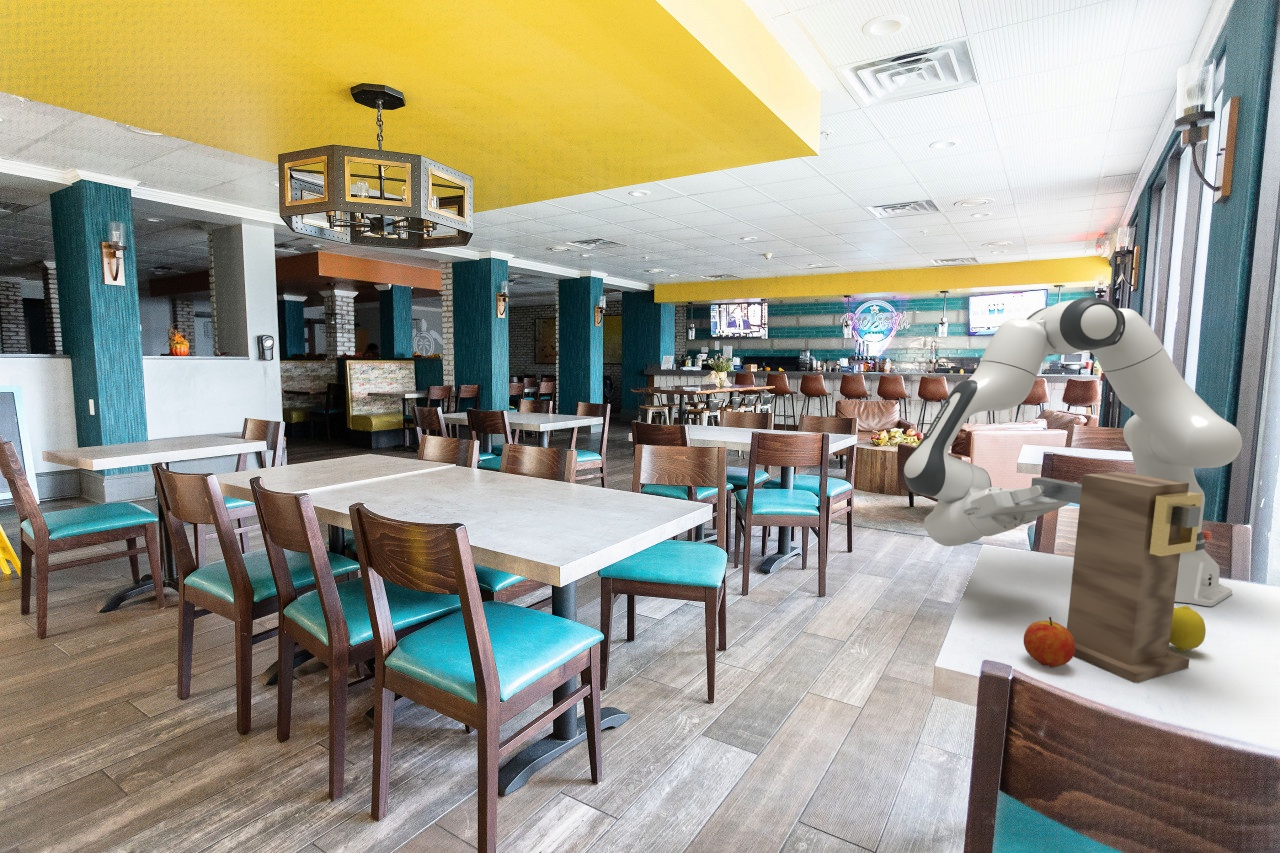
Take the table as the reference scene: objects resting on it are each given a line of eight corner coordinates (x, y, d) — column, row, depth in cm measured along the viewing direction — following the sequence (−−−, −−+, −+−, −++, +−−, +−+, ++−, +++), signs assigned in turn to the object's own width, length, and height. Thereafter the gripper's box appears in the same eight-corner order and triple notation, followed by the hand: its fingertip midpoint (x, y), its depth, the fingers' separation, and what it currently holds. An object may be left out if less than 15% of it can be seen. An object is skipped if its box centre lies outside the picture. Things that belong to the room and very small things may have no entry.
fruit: (1043, 651, 107) (1047, 606, 106) (1083, 671, 100) (1088, 622, 99) (1011, 657, 104) (1015, 610, 104) (1050, 677, 98) (1055, 627, 97)
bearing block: (1097, 632, 115) (1115, 469, 112) (1188, 667, 102) (1211, 484, 99) (1045, 644, 110) (1062, 473, 106) (1135, 683, 97) (1158, 490, 93)
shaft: (1041, 492, 118) (1043, 477, 118) (1198, 526, 96) (1200, 506, 96) (1030, 493, 117) (1032, 477, 117) (1186, 528, 95) (1189, 508, 95)
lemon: (1210, 660, 105) (1216, 614, 104) (1172, 656, 106) (1178, 610, 105) (1189, 645, 110) (1194, 601, 110) (1153, 642, 112) (1158, 598, 111)
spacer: (1183, 547, 100) (1190, 492, 99) (1195, 550, 99) (1202, 494, 98) (1149, 553, 97) (1156, 495, 96) (1160, 556, 96) (1167, 497, 95)
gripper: (951, 498, 123) (1012, 474, 111) (1024, 491, 131) (1087, 468, 119) (963, 530, 120) (1027, 508, 109) (1036, 521, 128) (1102, 500, 117)
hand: (1059, 487), depth 114 cm, fingers open, 8 cm apart
